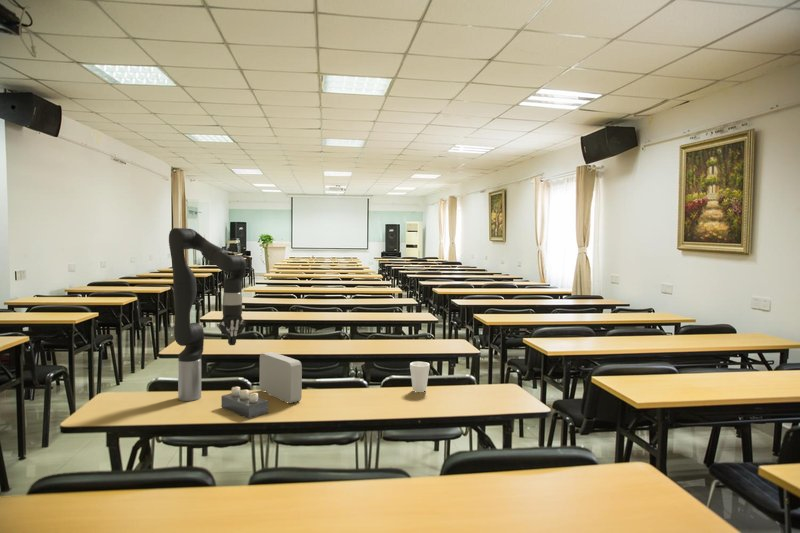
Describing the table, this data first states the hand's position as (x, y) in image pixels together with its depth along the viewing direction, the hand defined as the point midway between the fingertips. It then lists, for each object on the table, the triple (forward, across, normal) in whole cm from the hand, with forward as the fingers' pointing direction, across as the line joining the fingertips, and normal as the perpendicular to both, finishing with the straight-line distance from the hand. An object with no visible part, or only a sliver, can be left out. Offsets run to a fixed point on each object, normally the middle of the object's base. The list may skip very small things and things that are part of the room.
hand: (232, 345), depth 192 cm
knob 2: (+26, -2, +6) cm, 27 cm away
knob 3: (+26, -2, +13) cm, 29 cm away
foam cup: (+26, -72, +44) cm, 88 cm away
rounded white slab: (+27, -23, +1) cm, 35 cm away
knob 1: (+26, -2, 0) cm, 26 cm away
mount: (+26, -2, +6) cm, 27 cm away
